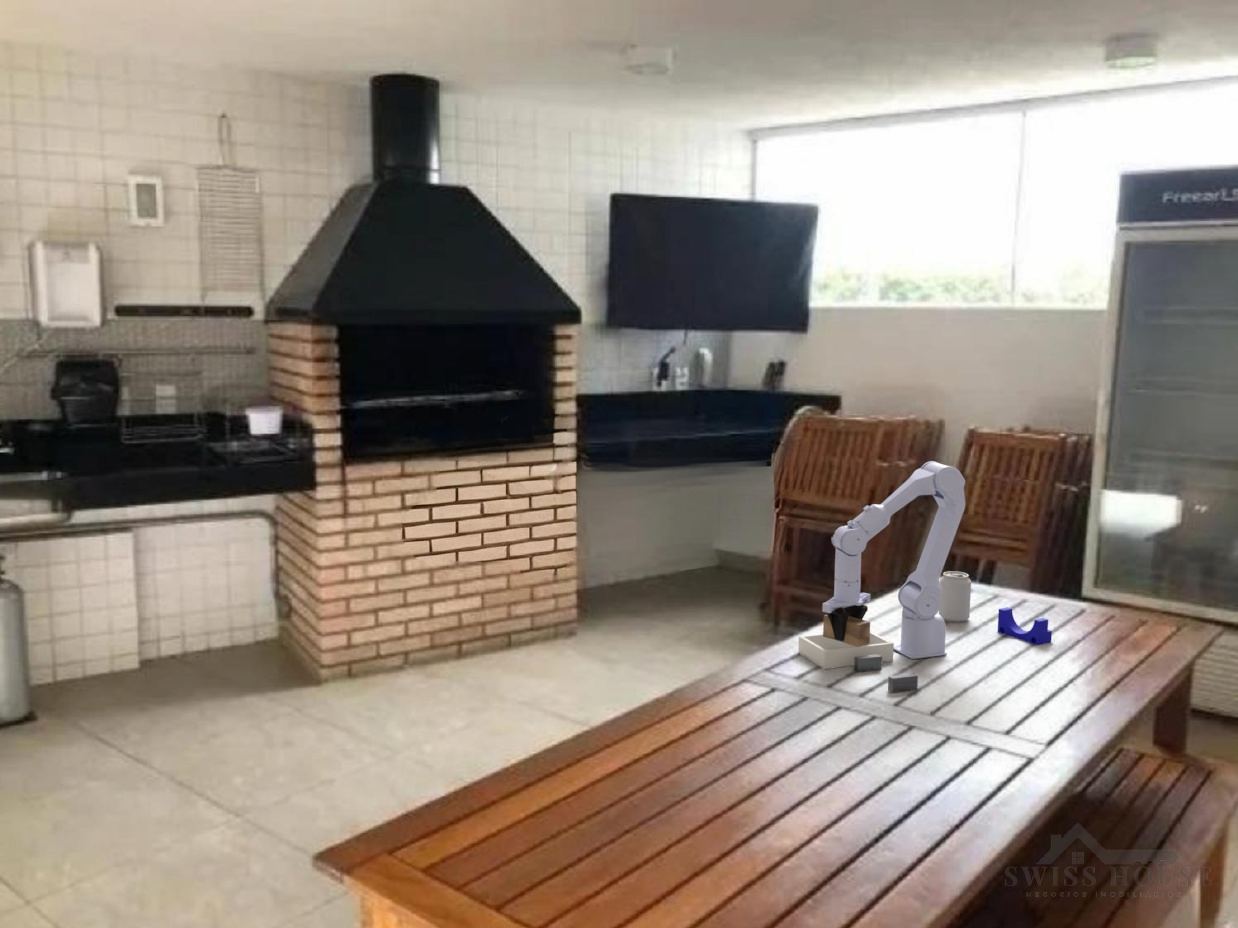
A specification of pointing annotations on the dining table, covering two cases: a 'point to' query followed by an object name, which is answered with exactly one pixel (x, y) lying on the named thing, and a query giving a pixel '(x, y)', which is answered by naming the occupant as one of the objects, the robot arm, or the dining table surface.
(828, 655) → the bin
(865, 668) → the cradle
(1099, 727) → the dining table surface
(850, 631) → the wooden block
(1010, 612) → the blue saddle bracket
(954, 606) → the can
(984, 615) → the dining table surface
